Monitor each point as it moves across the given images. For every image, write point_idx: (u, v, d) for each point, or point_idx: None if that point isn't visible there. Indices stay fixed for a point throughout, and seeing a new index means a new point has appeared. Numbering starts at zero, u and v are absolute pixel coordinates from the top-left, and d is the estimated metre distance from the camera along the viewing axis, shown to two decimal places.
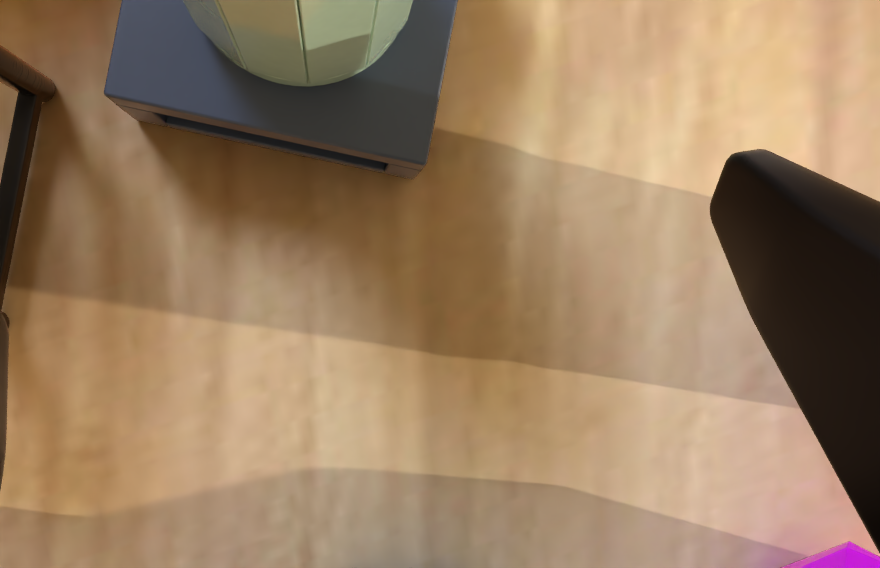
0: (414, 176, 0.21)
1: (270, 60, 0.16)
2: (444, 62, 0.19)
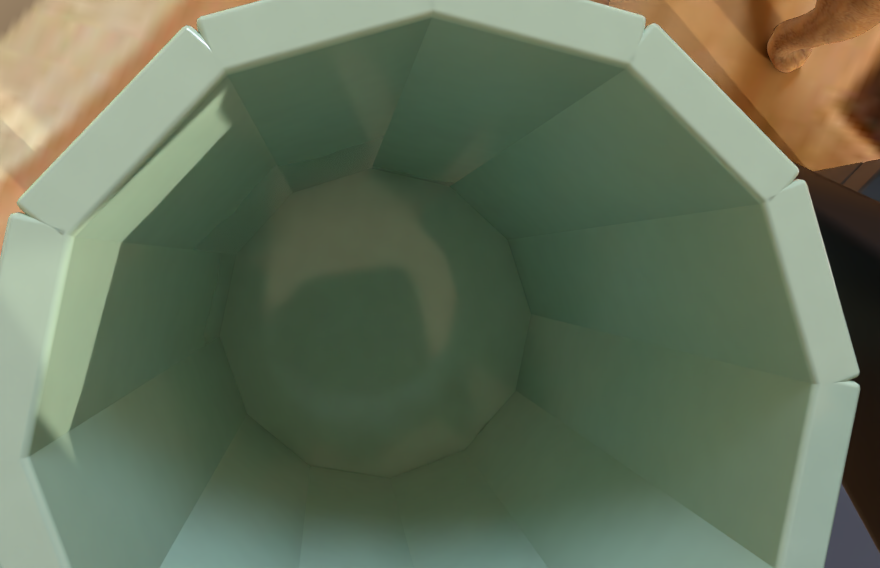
0: None
1: None
2: None
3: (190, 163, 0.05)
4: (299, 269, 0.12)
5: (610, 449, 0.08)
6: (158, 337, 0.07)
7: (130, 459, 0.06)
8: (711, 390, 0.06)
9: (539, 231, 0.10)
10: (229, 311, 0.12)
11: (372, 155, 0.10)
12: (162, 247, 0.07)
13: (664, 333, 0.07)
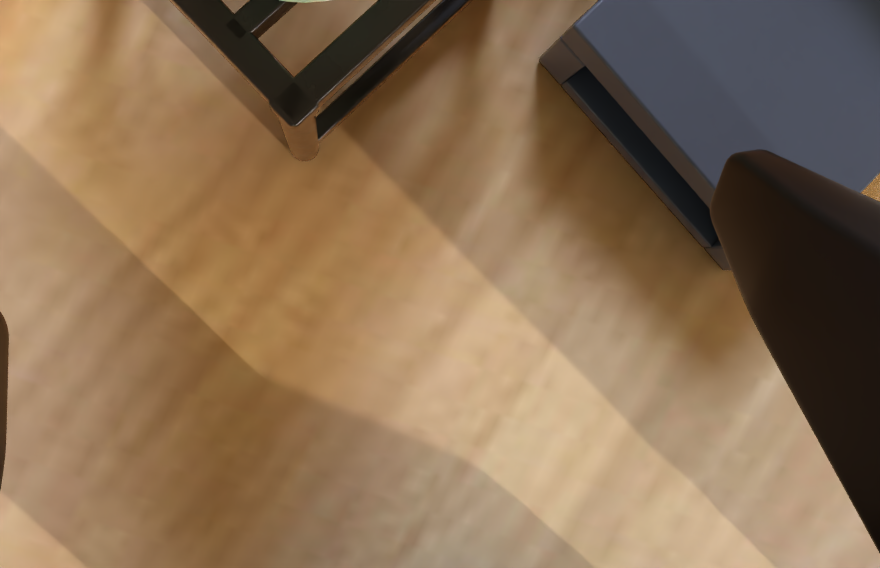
0: None
1: None
2: None
3: None
4: None
5: None
6: None
7: None
8: None
9: None
10: None
11: None
12: None
13: None
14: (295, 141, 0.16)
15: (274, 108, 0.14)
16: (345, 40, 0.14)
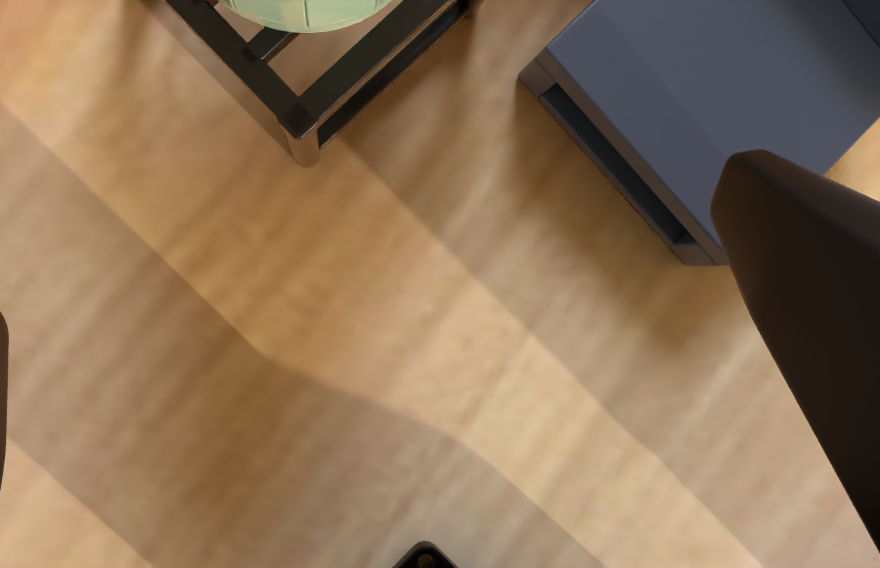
0: (695, 265, 0.23)
1: None
2: None
3: None
4: None
5: None
6: None
7: None
8: None
9: None
10: None
11: None
12: None
13: None
14: (299, 151, 0.18)
15: (281, 124, 0.16)
16: (342, 65, 0.16)
